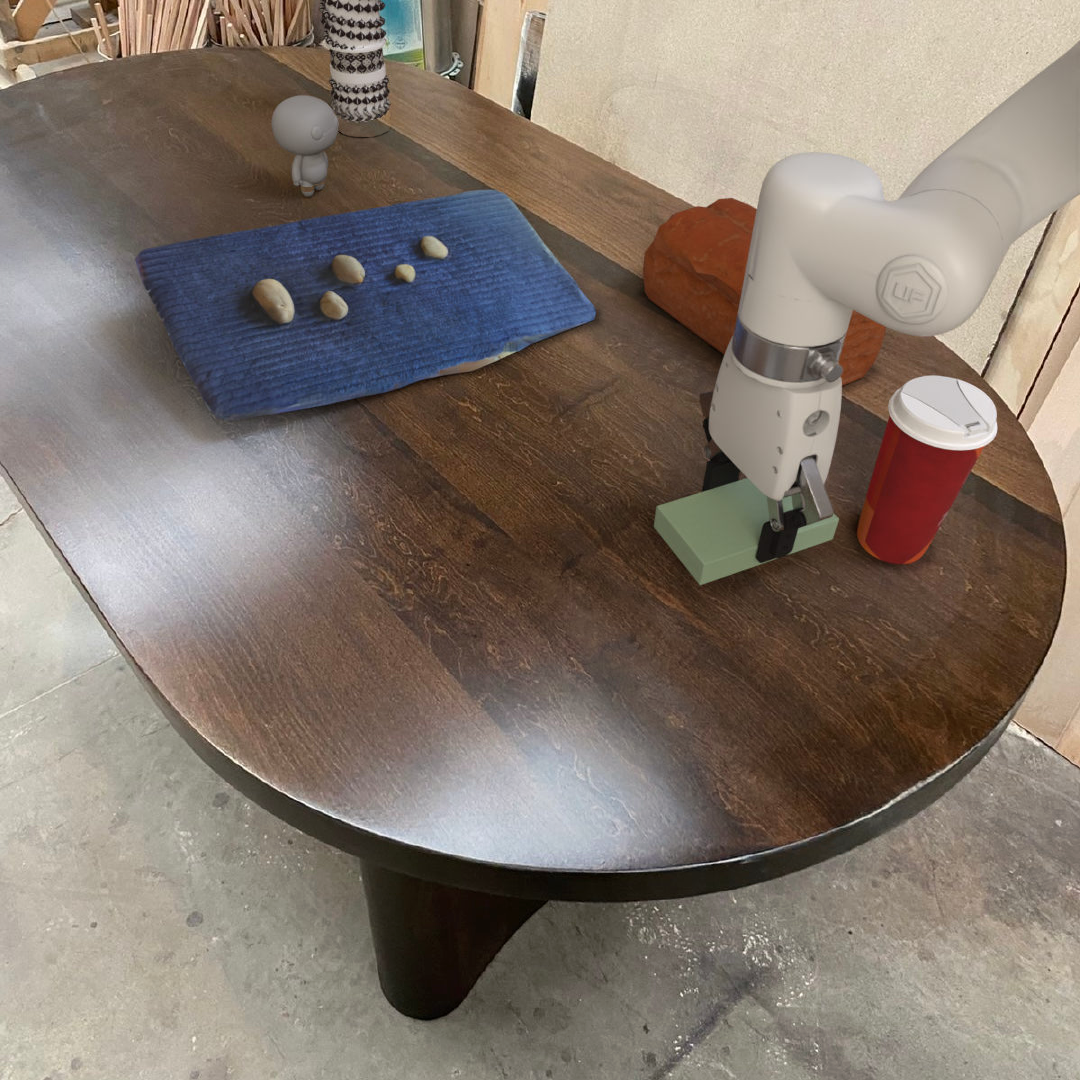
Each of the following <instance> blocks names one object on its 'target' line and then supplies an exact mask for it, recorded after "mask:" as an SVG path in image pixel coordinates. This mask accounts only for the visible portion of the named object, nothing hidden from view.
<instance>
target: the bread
mask: <svg viewBox="0 0 1080 1080" xmlns="http://www.w3.org/2000/svg"><path fill="white" fill-rule="evenodd" d="M756 211H757V207H755V206H752V205H751V204H749V203H746V202H744V201H741V200H739V199H735V198H733V197H725V198H718V199H717V200H715V201H713V202H712V203H710V204H709V205H707V206H699V205H697V206H694V207H691V208H688V209H684V210H681V211H678V212H676V213H673V214H671V215H670V216H669V218H668V219H667V220H666V221H665V222H664V223H662V224H659V226H658V229H657V231H656V233H655V235H654V238H653V241H652V242H651V243H650V245H649V246H648V247H647V248H646V250H645V251H644V254H643V255H644V256H643V264H642V265H643V266H642V275H643V276H642V277H643V287H644V293H645V294H646V297H647V298H648V300H650V301H651V302H652V303H653V304H655V305H657V306H658V307H659V308H660V309H662V310H663V311H664V312H665V313H668V314H669V315H670V316H671V317H672V318H673V319H675V320H676V321H678V322H679V323H680V324H682V325H683V326H684V327H686V328H687V329H688V330H689V331H691V332H692V333H693V334H695V335H697V336H698V337H699V338H701V339H702V340H703V341H705V342H706V343H707V344H708V345H710V346H712V347H713V348H715V349H716V350H717V351H719V352H720V353H721V354H723V356H724V355H725V352H726V350H727V347H728V345H729V342H730V340H731V338H732V336H733V335H734V329H735V324H736V319H737V313H738V309H739V304H740V299H741V293H742V288H743V282H744V276H745V271H746V265H747V260H748V254H749V249H750V243H751V238H752V233H753V227H754V222H755V217H756ZM886 332H887V327H885V326H883V325H881V324H879V323H877V322H875V321H873V320H871V319H869V318H867V317H866V316H864V315H862V314H860V313H858V312H856V311H855V310H853V312H852V315H851V319H850V322H849V326H848V330H847V334H846V337H845V341H844V344H843V348H842V352H841V355H840V359H839V362H838V364H840V365H841V366H842V368H843V371H842V374H841V376H840V377H841V378H842V387H843V386H845V385H848V384H851V383H853V382H855V381H857V380H859V379H862V378H864V377H865V375H866V374H867V373H868V372H869V371H870V369H871V367H872V366H873V365H874V364H875V362H876V360H877V357H878V355H879V353H880V351H881V350H882V347H883V343H884V339H885V335H886Z"/></svg>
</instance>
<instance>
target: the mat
mask: <svg viewBox="0 0 1080 1080" xmlns="http://www.w3.org/2000/svg"><path fill="white" fill-rule="evenodd" d="M134 262H135V265H136V267H137V270H138V274H139V276H140V279H141V282H142V285H143V287H144V289H145V291H146V293H147V294H148V296H149V298H150V301H151V302H152V305H153V306H154V308H155V310H156V311H157V313H158V315H159V317H160V320H161V321H162V324H163V327H164V328H165V330H166V332H167V335H168V337H169V339H170V341H171V343H172V346H173V348H174V350H175V352H176V354H177V355H178V357H179V359H180V361H181V362H182V364H183V366H184V368H185V370H186V371H187V373H188V375H189V377H190V379H191V381H192V382H193V384H194V386H195V388H196V390H197V391H198V393H199V395H200V397H201V399H202V400H203V402H204V404H205V406H206V407H207V410H208V411H209V412H210V413H211V414H212V415H213V416H214V417H215V418H216V419H220V420H227V421H233V420H240V419H249V418H254V417H255V418H256V417H262V416H268V415H275V414H281V413H286V412H287V413H288V412H291V411H292V412H293V411H298V410H304V409H310V408H315V407H323V406H326V405H332V404H335V403H340V402H345V401H349V400H353V399H354V400H355V399H358V398H363V397H367V396H373V395H374V396H375V395H378V394H384V393H388V392H391V391H395V390H398V389H401V388H403V387H406V386H408V385H412V384H414V383H416V382H419V381H422V380H427V379H428V380H429V379H433V378H437V377H441V376H442V377H443V376H447V375H454V374H462V373H469V372H474V371H476V370H478V369H481V368H483V367H485V366H487V365H490V364H492V363H495V362H497V361H499V360H502V359H503V358H506V357H507V356H510V355H512V354H514V353H516V352H520V351H521V350H524V349H525V348H527V347H528V346H530V345H532V344H535V343H537V342H540V341H542V340H546V339H548V338H550V337H553V336H556V335H558V334H561V333H563V332H566V331H569V330H571V329H574V328H576V327H578V326H579V327H580V326H581V325H584V324H587V323H590V322H592V321H594V320H595V319H596V313H597V311H596V308H595V305H594V304H593V303H592V301H590V299H589V298H588V297H587V296H586V294H585V293H584V292H583V291H582V290H581V289H580V286H579V285H578V282H577V281H576V280H575V279H574V278H573V276H572V275H571V274H570V273H569V272H568V271H567V269H565V267H564V266H563V265H562V263H561V262H560V260H559V259H558V258H557V257H556V255H555V254H554V253H553V252H552V251H551V250H550V248H549V247H548V246H547V245H546V244H545V243H544V241H543V240H542V238H541V237H540V236H539V234H538V232H537V231H536V230H535V228H534V227H533V226H532V225H531V223H530V222H529V221H528V219H527V218H526V216H525V215H524V214H523V212H522V211H521V210H520V209H519V207H517V205H516V204H515V202H514V201H513V199H511V198H510V197H509V196H508V195H507V194H506V193H504V192H502V191H500V190H496V189H476V190H467V191H464V192H459V193H455V194H450V195H445V196H437V197H433V198H432V197H431V198H425V199H419V200H411V201H406V202H401V203H394V204H391V205H387V206H378V207H374V208H373V207H372V208H368V209H359V210H355V211H350V212H342V213H337V214H336V213H335V214H332V215H325V216H324V215H323V216H320V217H319V216H318V217H314V218H313V217H312V218H309V219H308V218H307V219H306V218H305V219H300V220H297V221H293V222H292V221H291V222H286V223H281V224H276V225H272V226H271V225H267V226H265V227H259V228H258V227H257V228H253V229H247V230H239V231H234V232H229V233H220V234H217V235H215V234H214V235H210V236H209V235H208V236H204V237H199V238H192V239H188V240H181V241H176V242H172V243H168V244H167V243H166V244H163V245H159V246H151V247H147V248H144V249H142V250H140V251H139V252H138V254H137V255H136V257H135V259H134Z"/></svg>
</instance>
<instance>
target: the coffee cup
mask: <svg viewBox="0 0 1080 1080" xmlns="http://www.w3.org/2000/svg"><path fill="white" fill-rule="evenodd" d="M887 409H888V414H889V416H888V419H887V423H886V426H885V430H884V433H883V437H882V439H881V443H880V447H879V450H878V453H877V457H876V460H875V464H874V467H873V471H872V473H871V478H870V481H869V485H868V489H867V492H866V495H865V498H864V502H863V506H862V509H861V513H860V517H859V521H858V525H857V528H856V529H857V530H856V537H857V540H858V543H859V544H860V546H861V547H862V548H863V549H864V551H865V552H867V553H868V554H869V555H871V556H872V557H873V558H876V559H878V560H879V561H882V562H885V563H888V564H895V565H906V564H907V565H909V564H912V563H915V562H918V561H919V560H920V559H921V558H922V557H923V556H924V555H925V553H926V551H927V550H928V548H929V547H930V546H931V543H932V542H933V540H934V538H935V536H936V534H937V533H938V531H939V529H940V528H941V526H942V524H943V522H944V521H945V518H946V517H947V515H948V513H949V511H950V510H951V508H952V506H953V504H954V503H955V501H956V499H957V497H958V495H959V494H960V491H961V490H962V488H963V486H964V484H965V483H966V481H967V479H968V477H969V475H970V473H971V472H972V470H973V468H974V466H975V464H976V463H977V461H978V459H979V458H980V455H981V454H982V452H983V450H984V448H985V446H987V445H989V444H990V443H991V442H993V441H994V439H995V437H996V436H997V433H998V422H997V416H998V411H997V408H996V404H995V403H994V401H993V400H992V399H991V397H990V396H989V395H988V394H987V393H986V392H984V391H983V390H981V389H980V388H978V387H977V386H975V385H973V384H971V383H969V382H967V381H964V380H962V379H959V378H954V377H949V376H943V375H934V374H933V375H931V374H930V375H923V376H919V377H915V378H913V379H911V380H909V381H907V382H905V383H904V384H903V385H902V386H901V387H900V388H897V389H896V390H895V391H894V393H893V394H892V395H891V397H890V398H889V401H888V406H887Z"/></svg>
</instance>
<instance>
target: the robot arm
mask: <svg viewBox="0 0 1080 1080" xmlns="http://www.w3.org/2000/svg"><path fill="white" fill-rule="evenodd" d="M1078 196H1080V40H1078V41H1077V42H1076V43H1075V44H1074V45H1073V46H1071V48H1069V49H1068V50H1067V51H1066V52H1064V53H1063V54H1062V55H1060V56H1059V57H1058V58H1056V60H1054V61H1053V62H1052V63H1051V64H1049V65H1047V66H1046V67H1045V68H1043V70H1041V71H1040V72H1039V73H1037V74H1036V75H1035V76H1034V77H1032V78H1031V79H1030V80H1029V81H1027V82H1026V83H1024V84H1023V85H1022V86H1021V87H1020V88H1018V89H1017V90H1016V91H1015V92H1014V93H1012V94H1010V96H1009V97H1007V98H1006V99H1005V100H1004V101H1002V102H1001V103H999V105H997V106H996V107H995V108H994V109H993V110H992V111H991V112H989V113H988V114H987V115H986V116H985V117H983V118H982V119H981V120H980V121H979V122H977V123H976V124H975V125H974V126H973V127H972V128H970V129H969V130H968V131H967V132H965V133H964V134H963V135H961V137H959V138H958V139H957V140H955V141H954V142H953V143H952V144H951V145H950V146H949V147H947V148H946V149H945V150H944V151H943V152H941V153H940V154H939V155H938V156H936V157H935V159H933V160H932V161H931V162H930V163H929V164H928V165H927V166H926V167H925V168H923V169H922V170H921V171H920V173H918V174H917V176H916V177H915V178H914V179H913V180H912V181H911V182H910V183H909V185H908V186H907V187H906V188H905V189H904V190H903V191H902V193H901V194H900V196H899V197H898V198H897V199H893V200H890V201H889V200H887V199H885V196H884V188H883V184H882V181H881V179H880V177H879V175H878V174H877V173H876V172H875V171H874V170H873V169H872V168H871V167H870V166H869V165H867V164H865V163H864V162H862V161H859V160H857V159H854V158H852V157H849V156H845V155H841V154H837V153H829V152H819V151H818V152H817V151H815V152H814V151H813V152H800V153H795V154H791V155H788V156H786V157H783V158H782V159H780V160H778V161H776V162H775V163H774V164H773V166H771V167H770V168H769V169H768V171H767V173H766V174H765V177H764V178H763V180H762V183H761V188H760V192H759V196H758V200H757V207H756V209H757V211H756V217H755V222H754V227H753V233H752V238H751V243H750V249H749V254H748V260H747V265H746V271H745V276H744V282H743V288H742V293H741V299H740V304H739V309H738V313H737V319H736V324H735V329H734V335H733V336H732V338H731V340H730V342H729V345H728V347H727V350H726V352H725V355H724V354H723V358H722V362H721V363H720V367H719V370H718V374H717V376H716V379H715V384H714V389H711V390H708V391H704V392H703V391H702V392H701V393H700V394H699V403H700V408H701V412H702V417H703V418H704V419H703V421H702V429H703V430H704V435H705V438H706V442H707V443H706V444H705V445H704V449H703V450H704V455H705V457H706V458H707V459H708V460H707V461H706V466H705V471H704V472H705V473H704V477H703V483H702V487H701V492H703V491H707V490H710V489H714V488H717V487H720V486H723V485H726V484H730V483H733V482H736V481H739V480H740V479H739V478H740V473H742V474H743V475H744V476H745V477H746V478H748V479H749V480H750V481H751V482H752V483H753V484H754V485H755V486H756V487H757V488H758V489H759V490H760V491H761V492H762V493H763V494H764V495H766V496H767V503H768V510H769V518H770V521H768V522H765V523H764V524H763V527H762V531H761V535H760V539H759V543H758V549H757V553H756V559H757V560H758V561H759V563H763V564H765V563H764V562H766V561H769V560H772V559H775V558H778V559H781V558H784V557H786V556H788V554H789V553H790V552H791V551H792V549H793V546H794V542H795V539H796V535H797V532H798V528H801V527H804V526H807V525H810V524H813V523H816V522H818V521H821V520H824V519H827V518H830V517H832V516H833V513H834V508H833V505H832V503H831V501H830V497H829V494H828V492H827V489H826V486H825V483H826V481H827V478H828V475H829V471H830V468H831V464H832V460H833V456H834V451H835V448H836V447H835V446H836V442H837V437H838V431H839V424H840V418H841V409H842V395H843V386H842V378H841V377H840V376H841V374H842V371H843V368H842V366H841V365H840V364H838V362H839V359H840V355H841V352H842V348H843V344H844V341H845V337H846V334H847V330H848V326H849V322H850V319H851V315H852V312H853V310H855V311H856V312H858V313H860V314H862V315H864V316H866V317H867V318H869V319H871V320H873V321H875V322H877V323H879V324H881V325H883V326H885V327H886V329H887V328H888V329H890V330H892V331H895V332H897V333H901V334H905V335H908V336H912V337H913V336H914V337H923V338H924V337H935V336H940V335H945V334H946V333H949V332H951V331H953V330H955V329H957V328H959V327H960V326H962V325H963V324H965V322H967V321H968V320H969V319H970V318H971V317H972V316H973V315H974V314H975V312H977V310H978V309H979V307H980V306H981V304H982V303H983V301H984V299H985V297H986V295H987V294H988V291H989V289H990V287H991V286H992V283H993V282H994V280H995V277H996V276H997V273H998V272H999V269H1000V267H1001V265H1002V263H1003V261H1004V259H1005V257H1006V255H1007V254H1008V252H1009V250H1010V248H1011V246H1012V245H1013V244H1014V243H1015V242H1016V241H1018V239H1020V238H1021V237H1022V236H1024V235H1025V234H1026V233H1027V232H1029V231H1030V230H1031V229H1034V227H1036V226H1037V225H1039V224H1040V223H1041V222H1043V221H1044V220H1045V219H1047V218H1048V217H1050V216H1051V215H1052V214H1054V213H1055V212H1057V210H1059V209H1061V208H1062V207H1065V205H1067V204H1068V203H1069V202H1071V201H1072V200H1074V199H1075V198H1077V197H1078ZM788 496H792V504H793V510H790V511H787V512H783V504H782V498H785V497H788ZM789 555H790V554H789ZM775 560H776V559H775ZM772 561H773V560H772ZM769 562H770V561H769ZM766 563H767V562H766Z"/></svg>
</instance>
